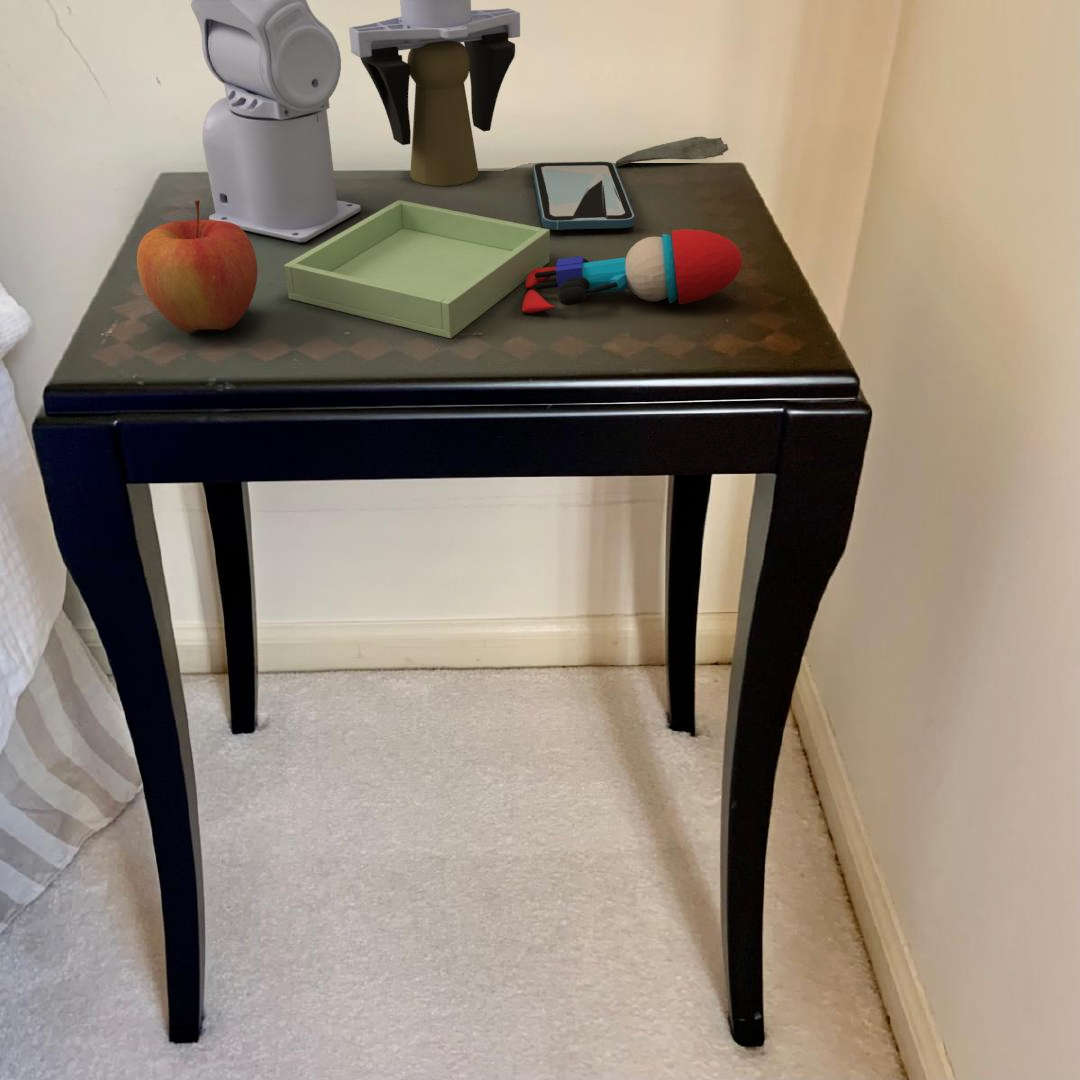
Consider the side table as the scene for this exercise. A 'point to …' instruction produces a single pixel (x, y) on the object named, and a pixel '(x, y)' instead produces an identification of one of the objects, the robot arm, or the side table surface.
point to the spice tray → (419, 267)
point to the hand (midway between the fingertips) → (442, 134)
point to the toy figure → (645, 271)
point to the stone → (679, 150)
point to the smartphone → (581, 196)
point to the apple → (198, 272)
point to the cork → (441, 115)
